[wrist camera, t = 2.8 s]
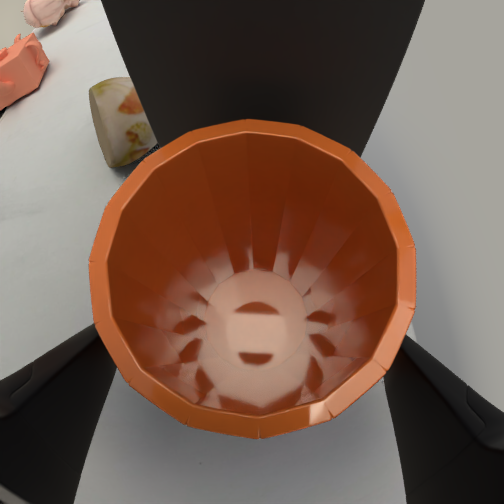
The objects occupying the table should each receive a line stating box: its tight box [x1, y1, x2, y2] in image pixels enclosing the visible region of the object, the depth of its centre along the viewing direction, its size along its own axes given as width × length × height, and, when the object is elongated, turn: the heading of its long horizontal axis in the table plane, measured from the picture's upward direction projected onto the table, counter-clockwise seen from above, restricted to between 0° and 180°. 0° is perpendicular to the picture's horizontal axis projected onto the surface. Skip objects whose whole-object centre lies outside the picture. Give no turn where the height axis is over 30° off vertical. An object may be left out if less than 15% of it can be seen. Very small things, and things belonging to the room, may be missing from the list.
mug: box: [89, 77, 158, 168], centre depth 20 cm, size 8×10×10 cm
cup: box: [89, 119, 416, 439], centre depth 12 cm, size 7×7×13 cm
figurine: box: [21, 0, 80, 28], centre depth 32 cm, size 11×12×18 cm
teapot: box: [0, 33, 49, 110], centre depth 24 cm, size 12×15×8 cm
